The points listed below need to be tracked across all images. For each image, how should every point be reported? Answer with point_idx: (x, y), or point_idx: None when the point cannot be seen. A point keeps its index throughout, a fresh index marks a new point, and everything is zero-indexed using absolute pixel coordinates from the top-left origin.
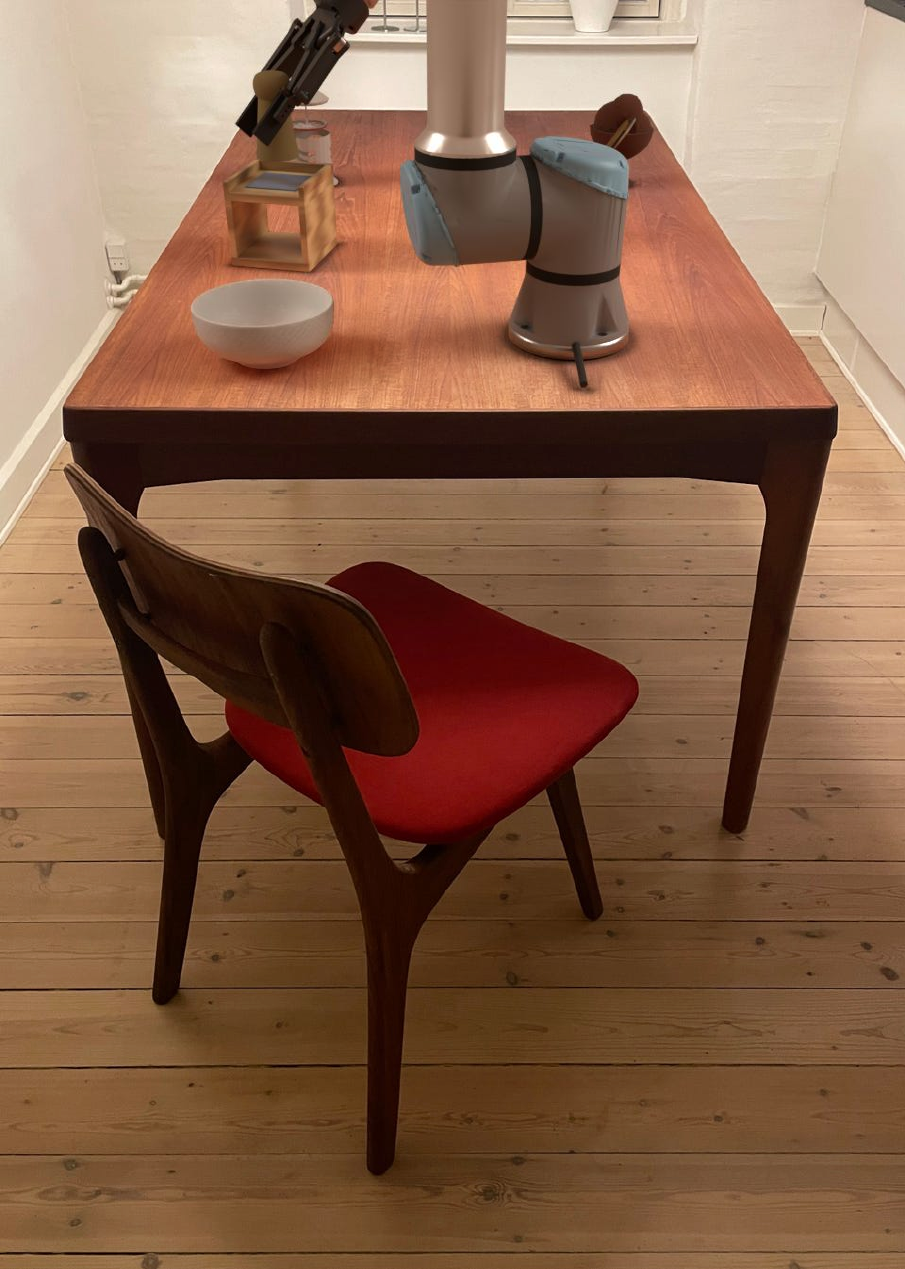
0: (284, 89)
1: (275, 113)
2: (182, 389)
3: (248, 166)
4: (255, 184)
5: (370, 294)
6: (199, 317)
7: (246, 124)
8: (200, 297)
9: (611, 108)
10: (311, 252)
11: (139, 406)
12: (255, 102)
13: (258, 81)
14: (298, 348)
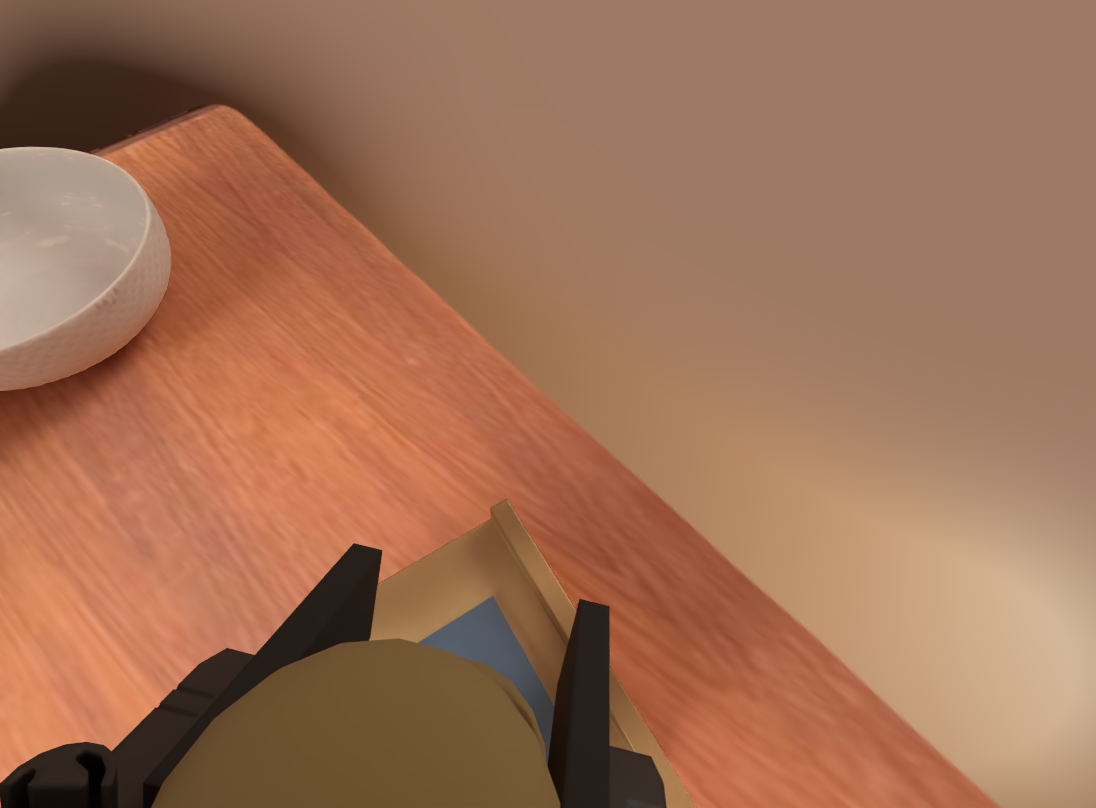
0: (31, 766)
1: (233, 676)
2: None
3: (621, 717)
4: (485, 643)
5: (35, 701)
6: (68, 149)
7: (567, 661)
8: (142, 202)
9: None
10: None
11: (149, 137)
12: (563, 753)
13: (349, 649)
14: None
